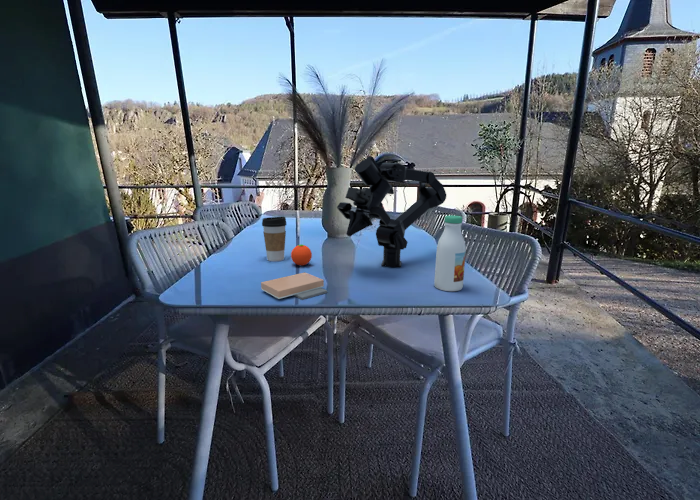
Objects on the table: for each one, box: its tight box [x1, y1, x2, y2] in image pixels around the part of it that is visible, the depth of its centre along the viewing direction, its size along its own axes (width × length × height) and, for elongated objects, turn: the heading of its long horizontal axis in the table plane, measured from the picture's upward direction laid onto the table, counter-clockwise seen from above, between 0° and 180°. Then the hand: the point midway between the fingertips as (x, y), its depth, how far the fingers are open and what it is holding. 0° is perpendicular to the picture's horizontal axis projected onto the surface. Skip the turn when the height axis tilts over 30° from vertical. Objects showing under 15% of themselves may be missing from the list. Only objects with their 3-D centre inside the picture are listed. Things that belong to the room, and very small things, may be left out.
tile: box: [260, 271, 325, 300], centre depth 97 cm, size 2×9×14 cm
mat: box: [292, 287, 328, 301], centre depth 99 cm, size 8×15×1 cm, turn 41°
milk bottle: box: [433, 215, 467, 292], centre depth 99 cm, size 8×8×20 cm
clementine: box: [290, 244, 313, 266], centre depth 121 cm, size 8×7×7 cm
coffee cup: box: [261, 216, 287, 262], centre depth 127 cm, size 8×8×15 cm
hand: (348, 235), depth 107 cm, fingers closed
